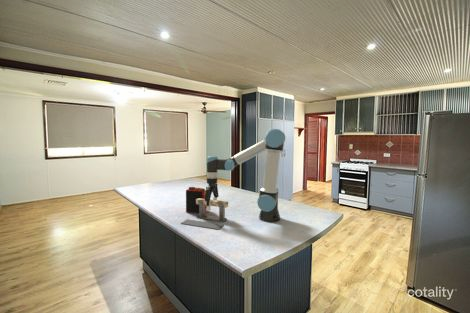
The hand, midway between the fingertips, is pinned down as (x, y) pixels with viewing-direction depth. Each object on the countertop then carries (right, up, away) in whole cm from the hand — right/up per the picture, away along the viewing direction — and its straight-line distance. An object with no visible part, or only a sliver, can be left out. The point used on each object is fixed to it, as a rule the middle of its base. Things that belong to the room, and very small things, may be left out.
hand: (211, 208), depth 165 cm
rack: (0, -8, +1) cm, 8 cm away
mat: (-5, -9, -11) cm, 15 cm away
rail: (0, +2, 0) cm, 2 cm away
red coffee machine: (-14, -7, +17) cm, 23 cm away
